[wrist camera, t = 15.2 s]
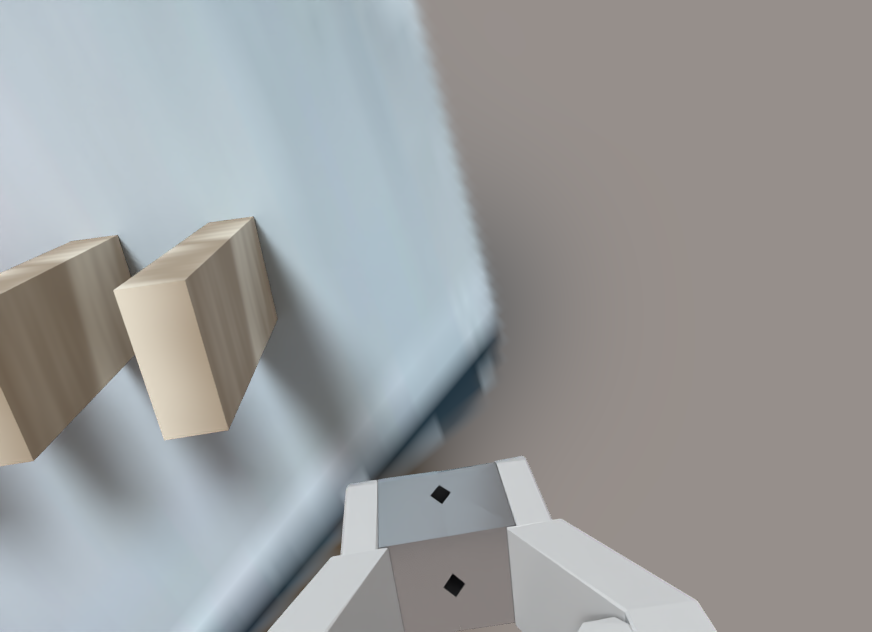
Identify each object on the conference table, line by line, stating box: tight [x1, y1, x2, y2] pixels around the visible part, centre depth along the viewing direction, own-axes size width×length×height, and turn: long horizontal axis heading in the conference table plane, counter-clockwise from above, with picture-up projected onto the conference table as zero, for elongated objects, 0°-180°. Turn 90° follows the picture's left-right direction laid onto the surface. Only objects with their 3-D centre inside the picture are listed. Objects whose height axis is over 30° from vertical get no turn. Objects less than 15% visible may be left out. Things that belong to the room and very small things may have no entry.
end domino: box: [113, 217, 278, 440], centre depth 22 cm, size 2×5×10 cm, turn 7°
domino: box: [0, 235, 135, 466], centre depth 21 cm, size 2×5×10 cm, turn 7°
